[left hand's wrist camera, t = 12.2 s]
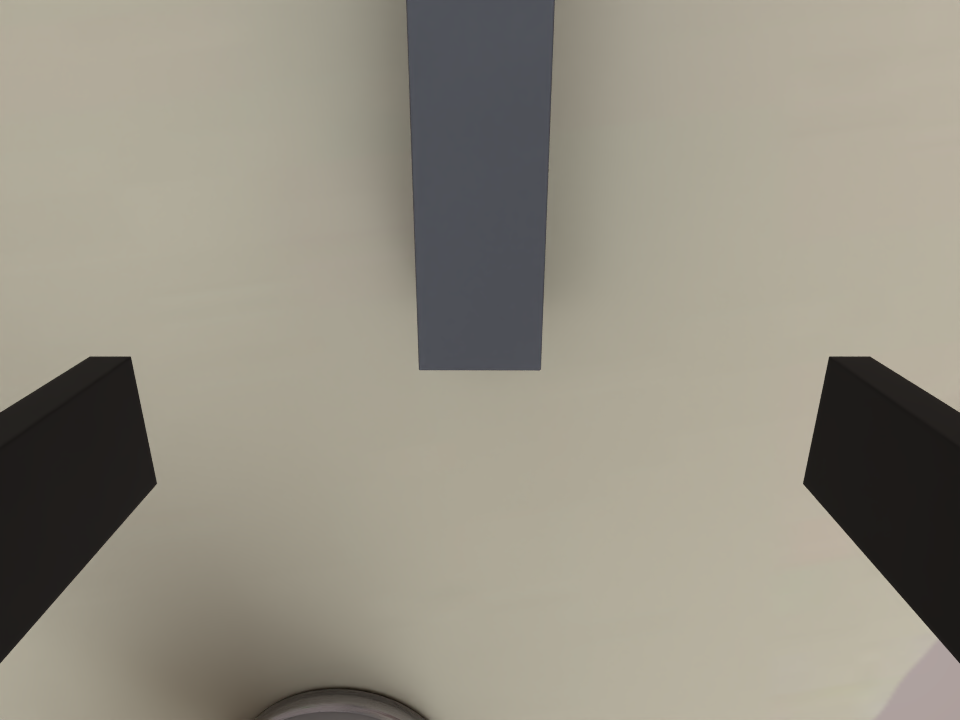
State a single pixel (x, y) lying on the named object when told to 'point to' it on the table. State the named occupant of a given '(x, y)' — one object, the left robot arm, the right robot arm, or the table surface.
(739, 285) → the table surface
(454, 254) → the beam
